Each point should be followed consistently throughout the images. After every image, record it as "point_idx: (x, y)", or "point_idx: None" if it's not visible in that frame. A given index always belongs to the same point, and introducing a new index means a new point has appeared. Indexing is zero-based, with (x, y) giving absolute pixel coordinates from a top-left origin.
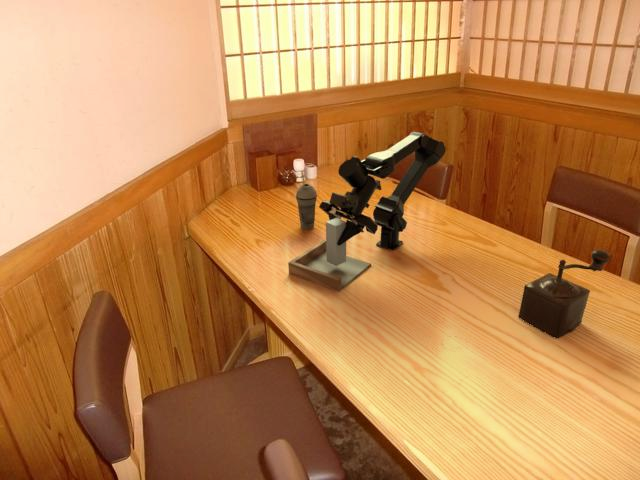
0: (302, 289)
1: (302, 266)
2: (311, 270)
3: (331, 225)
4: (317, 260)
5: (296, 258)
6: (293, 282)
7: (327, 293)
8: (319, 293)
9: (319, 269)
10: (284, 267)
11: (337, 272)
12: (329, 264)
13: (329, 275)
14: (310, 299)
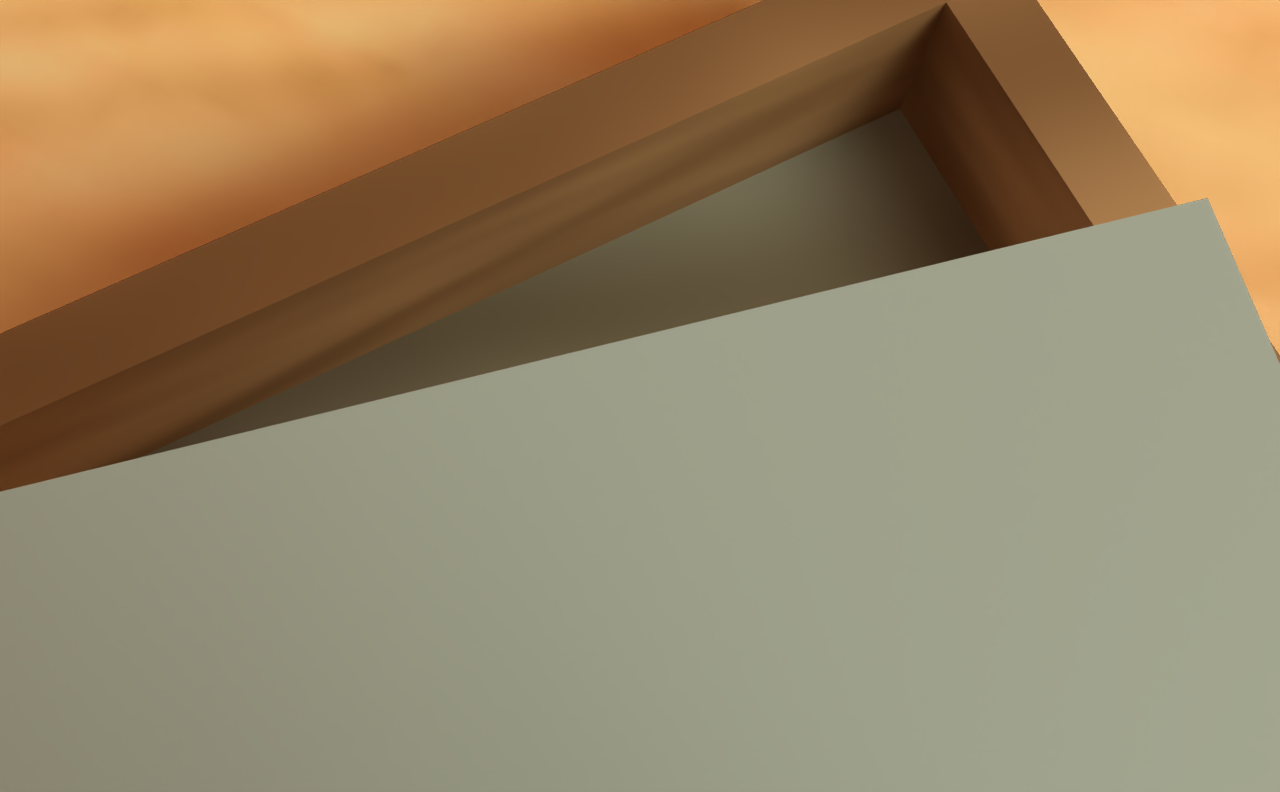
0: (379, 32)
1: (707, 59)
2: (476, 133)
3: (421, 431)
4: None
5: (1062, 89)
6: (631, 2)
7: (56, 294)
8: (133, 191)
9: None
10: (1132, 61)
11: None
12: None
13: (103, 340)
14: (76, 18)
